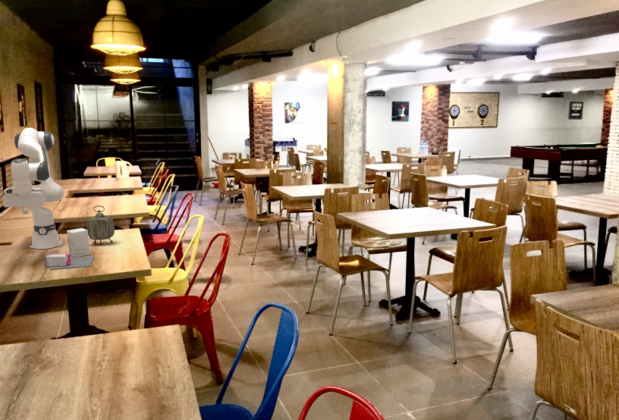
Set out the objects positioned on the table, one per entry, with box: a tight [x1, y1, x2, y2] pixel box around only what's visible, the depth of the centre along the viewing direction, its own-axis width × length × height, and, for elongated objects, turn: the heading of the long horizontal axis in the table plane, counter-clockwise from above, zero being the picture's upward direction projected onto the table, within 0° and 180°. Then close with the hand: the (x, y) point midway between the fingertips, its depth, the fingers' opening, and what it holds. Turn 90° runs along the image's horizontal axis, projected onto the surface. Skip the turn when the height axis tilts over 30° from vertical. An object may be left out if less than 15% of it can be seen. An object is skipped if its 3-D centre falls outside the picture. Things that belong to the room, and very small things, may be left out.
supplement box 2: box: [66, 227, 91, 258], centre depth 301 cm, size 9×9×15 cm
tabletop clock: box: [86, 205, 115, 246], centre depth 325 cm, size 14×9×25 cm, turn 92°
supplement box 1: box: [44, 253, 72, 267], centre depth 280 cm, size 6×6×12 cm
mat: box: [49, 255, 95, 271], centre depth 285 cm, size 20×20×1 cm
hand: (25, 214), depth 281 cm, fingers closed
